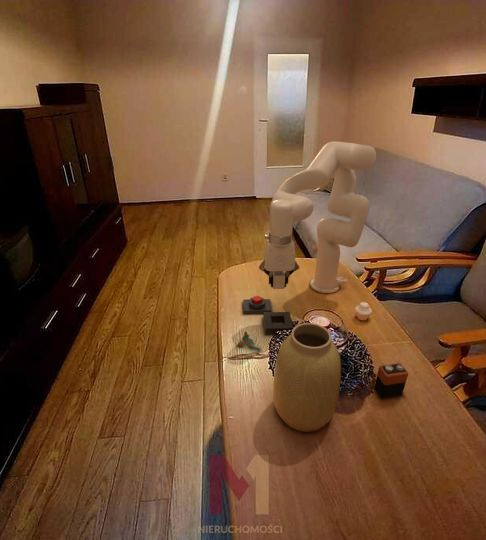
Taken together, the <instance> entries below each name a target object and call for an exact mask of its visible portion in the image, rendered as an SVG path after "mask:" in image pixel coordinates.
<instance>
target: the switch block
mask: <svg viewBox="0 0 486 540" xmlns="http://www.w3.org/2000/svg"><path fill="white" fill-rule="evenodd" d="M253 297H254V296H252V297H250V298H249V299H248V298H247V299H243V300H242V302H243V303H242V306H243V307H242V308H243V315H263V312H273V310H272V303H271V299H270V298H264V297H262V296H260V297H261V298H262V302H261V303H260V304H255V303H253Z"/></svg>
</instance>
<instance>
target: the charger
mask: <svg viewBox="0 0 486 540" xmlns="http://www.w3.org/2000/svg"><path fill="white" fill-rule="evenodd" d="M285 288H286V287H285V271H273V287H272V289H273V290H283V289H284V290H285Z"/></svg>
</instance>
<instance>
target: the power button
mask: <svg viewBox="0 0 486 540" xmlns="http://www.w3.org/2000/svg"><path fill="white" fill-rule="evenodd" d="M252 297H253V303H255V304H260V303H261V302H262V298H263V297H262V296H260V295H254V296H252ZM261 297H262V298H261Z"/></svg>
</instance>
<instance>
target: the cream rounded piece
mask: <svg viewBox="0 0 486 540" xmlns="http://www.w3.org/2000/svg"><path fill="white" fill-rule="evenodd" d="M354 313H355V315H356V317H357V319H358V320H360V321H367V319H369V318H370V317H371V315H372V313H373V310H372V308H371V307H370V304H369V303H367V302H365V301H362V302H360V303H359V304H358V305H356V306H355V308H354Z"/></svg>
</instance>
